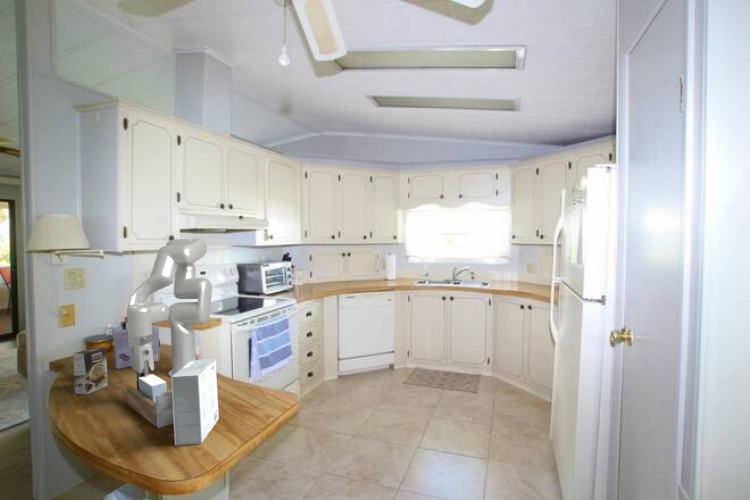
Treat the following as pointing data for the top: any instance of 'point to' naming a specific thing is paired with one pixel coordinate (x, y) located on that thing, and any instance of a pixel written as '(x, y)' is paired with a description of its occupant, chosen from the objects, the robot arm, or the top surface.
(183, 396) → the hard drive box
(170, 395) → the book rack
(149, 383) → the boxed book
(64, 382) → the top surface
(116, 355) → the cake pan box
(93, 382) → the coffee box
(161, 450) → the top surface
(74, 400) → the top surface
